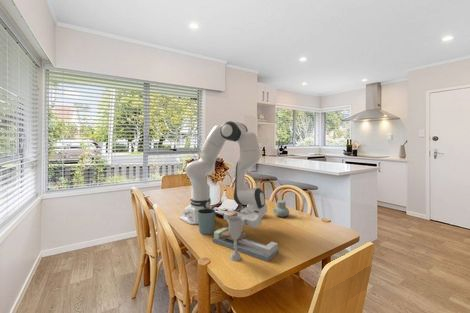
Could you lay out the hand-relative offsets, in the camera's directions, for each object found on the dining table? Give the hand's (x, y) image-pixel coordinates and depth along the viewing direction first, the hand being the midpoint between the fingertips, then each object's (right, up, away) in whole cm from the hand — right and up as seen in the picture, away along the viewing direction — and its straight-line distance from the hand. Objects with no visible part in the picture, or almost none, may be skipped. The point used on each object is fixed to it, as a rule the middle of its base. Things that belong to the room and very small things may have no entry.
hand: (232, 222), depth 117 cm
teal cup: (-15, -10, +17) cm, 25 cm away
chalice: (+2, -12, -12) cm, 17 cm away
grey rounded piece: (+33, -8, +44) cm, 55 cm away
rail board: (+6, -11, -2) cm, 13 cm away
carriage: (+1, -7, +1) cm, 7 cm away
